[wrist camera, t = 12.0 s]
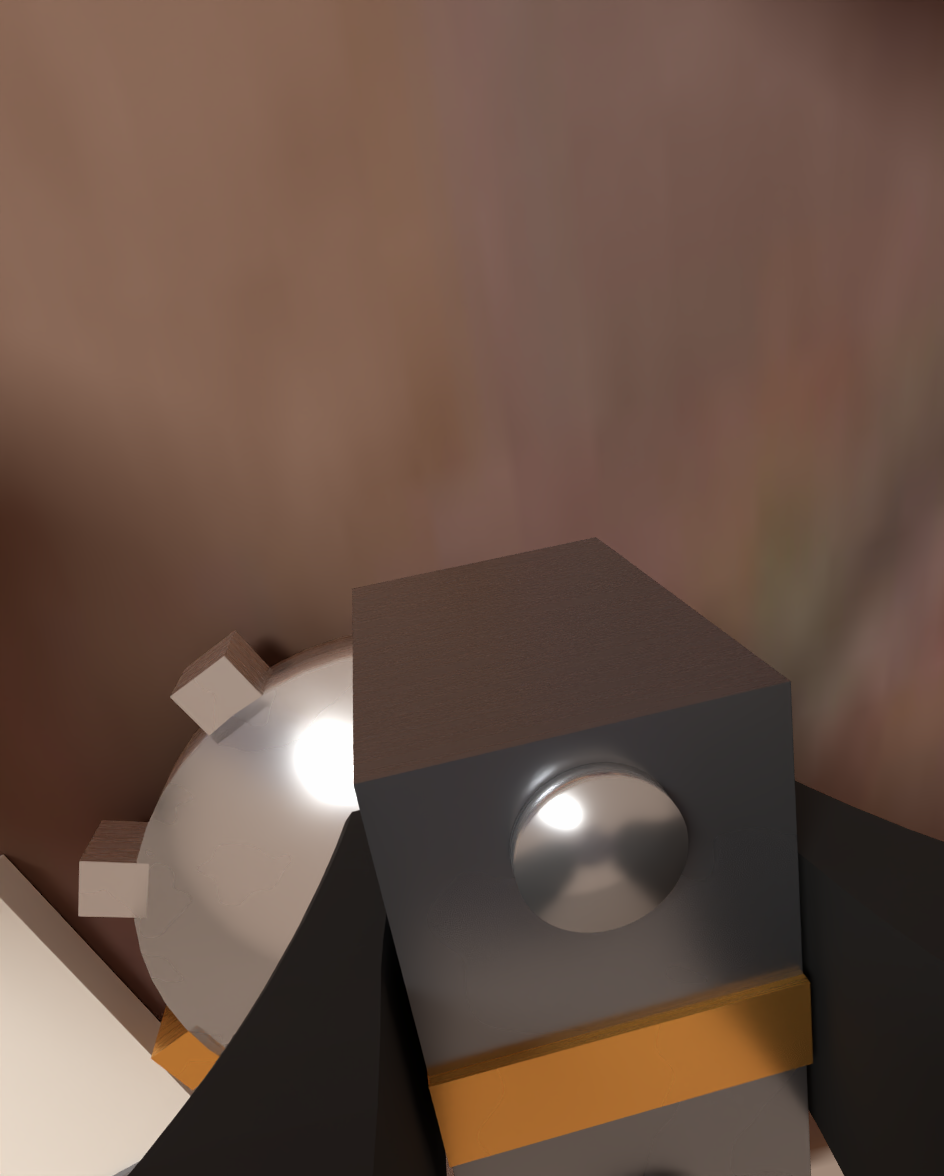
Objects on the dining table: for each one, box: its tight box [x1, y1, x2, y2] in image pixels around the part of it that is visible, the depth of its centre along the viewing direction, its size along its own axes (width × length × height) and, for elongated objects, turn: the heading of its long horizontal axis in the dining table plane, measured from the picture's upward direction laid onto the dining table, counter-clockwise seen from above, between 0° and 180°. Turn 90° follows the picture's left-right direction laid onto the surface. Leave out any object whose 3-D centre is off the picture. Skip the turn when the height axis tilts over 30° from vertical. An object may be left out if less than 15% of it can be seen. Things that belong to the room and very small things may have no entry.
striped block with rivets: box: [352, 537, 813, 1176], centre depth 9 cm, size 7×4×5 cm, turn 10°
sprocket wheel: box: [78, 631, 360, 1090], centre depth 17 cm, size 15×15×4 cm
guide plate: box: [0, 854, 197, 1176], centre depth 19 cm, size 10×7×1 cm
